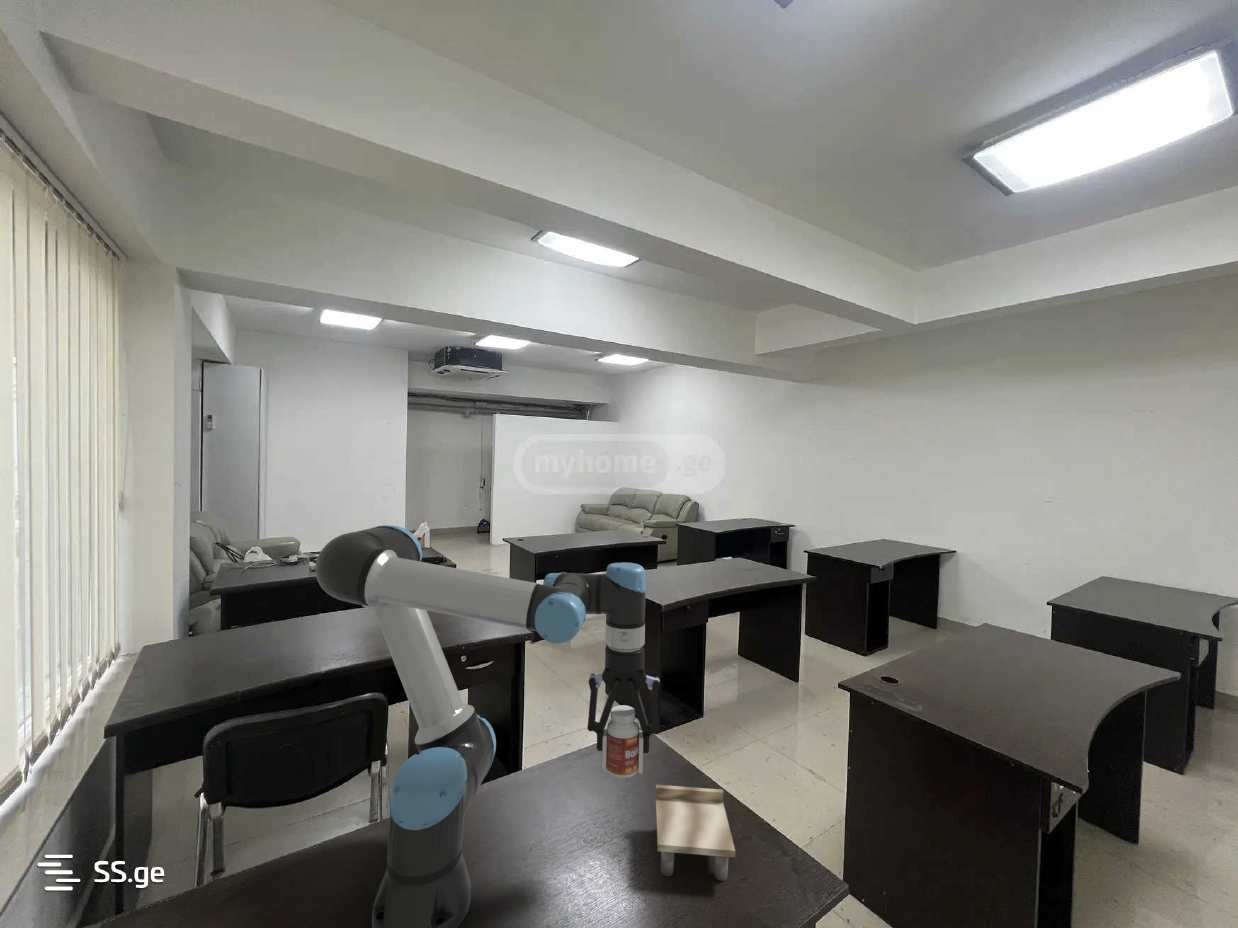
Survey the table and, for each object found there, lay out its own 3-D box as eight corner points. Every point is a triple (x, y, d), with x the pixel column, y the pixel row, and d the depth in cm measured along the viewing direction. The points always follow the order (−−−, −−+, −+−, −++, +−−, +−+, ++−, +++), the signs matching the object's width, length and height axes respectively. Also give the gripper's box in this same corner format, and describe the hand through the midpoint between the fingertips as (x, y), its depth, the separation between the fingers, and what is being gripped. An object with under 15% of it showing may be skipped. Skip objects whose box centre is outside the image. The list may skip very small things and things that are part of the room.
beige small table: (656, 878, 89) (658, 833, 89) (654, 823, 103) (656, 784, 103) (733, 885, 89) (735, 839, 89) (721, 828, 103) (722, 789, 103)
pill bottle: (628, 783, 89) (629, 722, 89) (600, 772, 92) (600, 713, 92) (644, 765, 94) (645, 707, 94) (616, 756, 97) (617, 700, 97)
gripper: (572, 650, 90) (569, 777, 90) (676, 654, 89) (674, 782, 89) (577, 637, 98) (575, 753, 97) (674, 640, 97) (672, 758, 96)
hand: (622, 767), depth 93 cm, fingers closed on pill bottle, 6 cm apart
